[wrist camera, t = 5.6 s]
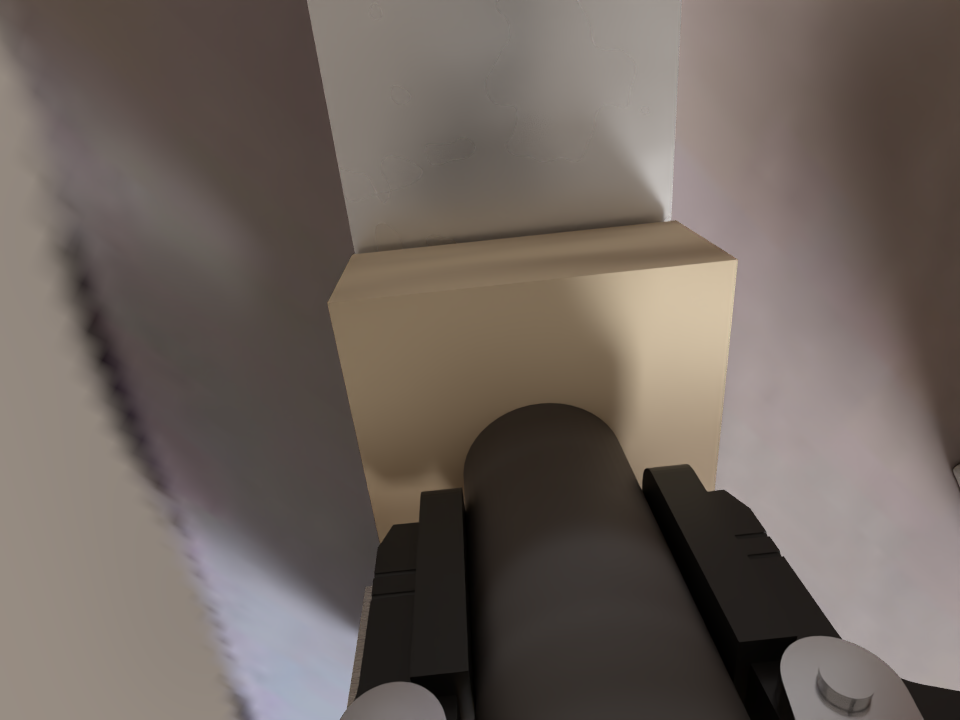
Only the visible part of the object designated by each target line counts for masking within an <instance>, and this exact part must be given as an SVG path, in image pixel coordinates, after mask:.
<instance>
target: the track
mask: <svg viewBox="0 0 960 720" xmlns="http://www.w3.org/2000/svg"><path fill="white" fill-rule="evenodd" d="M307 4H308V9H309V15H310V20H311V25H312V30H313V36H314V41H315V46H316V52H317V57H318V62H319V67H320V73H321V78H322V83H323V88H324V94H325V99H326V104H327V110H328V115H329V120H330V125H331V131H332V136H333V141H334V147H335V152H336V157H337V162H338V168H339V173H340V178H341V183H342V189H343V194H344V199H345V205H346V210H347V215H348V220H349V226H350V231H351V236H352V242H353V247H354V252H355V254H361V253H371V252H380V251H390V250H399V249H409V248H418V247H428V246H438V245H447V244H457V243H466V242H476V241H485V240H495V239H504V238H514V237H523V236H533V235H542V234H552V233H561V232H571V231H580V230H590V229H599V228H609V227H618V226H628V225H637V224H647V223H656V222H666V221H671V211H672V191H673V170H674V150H675V129H676V109H677V88H678V68H679V47H680V27H681V6H682V0H307ZM372 587H373V586H368V587H366V588H365V594H364V601H363V607H362V614H361V620H360V627H359V633H358V640H357V646H356V652H355V659H354V665H353V672H352V678H351V685H350V691H349V698H348V704H347V708H348V707H349V706H350V705H351V704H352V703H353V702H354V699H355V696H356V694H357V690H358V685H359V678H360V671H361V664H362V657H363V650H364V643H365V636H366V629H367V622H368V615H369V608H370V601H371V600H372V596H371V594H372Z"/></svg>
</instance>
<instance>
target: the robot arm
mask: <svg viewBox="0 0 960 720" xmlns="http://www.w3.org/2000/svg"><path fill="white" fill-rule="evenodd" d="M642 491H643V493H644V496H645V498H646V500H647V502H648V504H649V506H650V508H651V510H652V512H653V515H654V517H655V519H656V521H657V523H658V525H659V527H660V529H661V531H662V534H663V536H664V538H665V540H666V542H667V544H668V546H669V548H670V550H671V553H672V555H673V557H674V559H675V561H676V563H677V565H678V567H679V569H680V572H681V574H682V576H683V578H684V580H685V582H686V584H687V586H688V589H689V591H690V593H691V595H692V597H693V599H694V601H695V603H696V605H697V608H698V610H699V612H700V614H701V616H702V618H703V620H704V622H705V624H706V627H707V629H708V631H709V633H710V635H711V637H712V639H713V641H714V643H715V646H716V648H717V650H718V652H719V654H720V656H721V658H722V660H723V662H724V665H725V667H726V669H727V671H728V673H729V675H730V677H731V679H732V681H733V684H734V686H735V688H736V690H737V692H738V694H739V696H740V698H741V700H742V703H743V705H744V707H745V709H746V711H747V713H748V715H749V717H750V719H751V720H960V691H955V690H950V689H944V688H939V687H933V686H928V685H923V684H918V683H914V682H910V681H907V680H904V679H901V678H900V677H899V676H898V675H897V674H896V672H895V671H894V670H893V669H892V668H891V667H890V666H889V665H887V664H886V663H885V662H884V661H883V660H881V659H880V658H879V657H877V656H876V655H874V654H873V653H871V652H870V651H868V650H866V649H865V648H862V647H860V646H858V645H856V644H854V643H851V642H848V641H846V640H842V638H841V637H840V636H839V634H838V633H837V632H836V630H835V629H834V628H833V626H832V625H831V623H830V622H829V620H828V619H827V618H826V616H825V615H824V613H823V612H822V610H821V609H820V608H819V606H818V605H817V603H816V602H815V600H814V599H813V598H812V596H811V595H810V593H809V592H808V590H807V589H806V588H805V586H804V585H803V583H802V582H801V581H800V579H799V578H798V576H797V575H796V573H795V572H794V571H793V569H792V568H791V566H790V565H789V563H788V562H787V561H786V559H785V558H784V556H783V557H781V555H780V551H779V549H778V548H777V546H776V545H775V543H774V542H773V541H772V539H771V538H770V536H769V537H767V534H766V531H765V529H764V528H763V526H762V525H761V523H760V522H759V521H758V519H757V518H756V516H755V515H754V513H753V512H752V511H751V509H750V508H749V507H747V506H746V505H745V504H743V503H742V502H740V501H739V500H738V499H736V498H735V497H733V496H732V495H731V494H729V493H728V492H726V491H725V490H717V491H708V492H707V490H706V489H705V487H704V486H703V484H702V483H701V481H700V479H699V478H698V476H697V475H696V473H695V471H694V470H693V468H692V467H691V466H690V465H689V464H681V465H671V466H662V467H652V468H646V469H645V470H644V472H643V478H642ZM374 574H375V578H374V580H373V587H372V594H371V596H372V600H371V601H370V608H369V615H368V622H367V629H366V636H365V643H364V650H363V657H362V664H361V671H360V678H359V685H358V690H357V694H356V696H355V699H354V702H353V703H352V704H351V705H350V706H349V707H348V708H347V710H346V711H345V712H344V714H343V715H342V717H341V719H340V720H475V701H474V680H473V659H472V638H471V616H470V595H469V574H468V552H467V531H466V512H465V504H464V496H463V490H462V487H461V488H452V489H442V490H433V491H424V492H421V495H420V511H419V522H414V523H405V524H395V525H393V526H392V527H391V529H390V530H389V532H388V533H387V535H386V536H385V538H384V539H383V541H382V542H381V544H380V546H379V547H378V551H377V558H376V565H375V572H374Z"/></svg>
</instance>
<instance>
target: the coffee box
mask: <svg viewBox="0 0 960 720" xmlns="http://www.w3.org/2000/svg"><path fill="white" fill-rule="evenodd" d="M953 472H954V474H955V477H956V479H957V482H958V484H959V486H960V464H959V465H957V466H956V467H955V468H954V470H953Z"/></svg>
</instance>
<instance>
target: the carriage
mask: <svg viewBox="0 0 960 720" xmlns="http://www.w3.org/2000/svg"><path fill="white" fill-rule="evenodd" d="M737 263H738V259H736V258H735V257H733V256H731V255H730V254H728V253H727V252H725V251H723V250H722V249H720V248H719V247H717V246H716V245H714V244H712V243H711V242H709V241H708V240H706V239H705V238H703V237H701V236H700V235H698V234H697V233H695V232H693V231H692V230H690V229H689V228H687V227H686V226H684V225H682V224H681V223H679V222H678V221H676V220H675V221H666V222H656V223H647V224H637V225H628V226H618V227H609V228H599V229H590V230H580V231H571V232H561V233H552V234H542V235H533V236H523V237H514V238H504V239H495V240H485V241H476V242H466V243H457V244H447V245H438V246H428V247H418V248H409V249H399V250H390V251H380V252H371V253H361V254H352V256H351V258H350V260H349V262H348V264H347V266H346V268H345V270H344V272H343V273H342V275H341V277H340V279H339V281H338V283H337V285H336V287H335V289H334V291H333V293H332V295H331V297H330V299H329V301H328V303H327V304H328V309H329V313H330V318H331V322H332V327H333V331H334V336H335V341H336V345H337V350H338V354H339V359H340V363H341V368H342V373H343V377H344V382H345V386H346V391H347V396H348V400H349V405H350V409H351V414H352V418H353V423H354V428H355V432H356V437H357V441H358V446H359V450H360V455H361V460H362V464H363V469H364V473H365V478H366V482H367V487H368V492H369V496H370V501H371V505H372V510H373V515H374V519H375V524H376V528H377V533H378V537H379V542H380V544H381V542H382V541H383V539H384V538H385V536H386V535H387V533H388V532H389V530H390V529H391V527H392V526H393V525H395V524H405V523H414V522H419V511H420V495H421V492H424V491H433V490H442V489H452V488H461V487H462V490H463V496H464V504H465V512H466V531H467V552H468V574H469V595H470V616H471V638H472V659H473V680H474V701H475V720H751V719H750V717H749V715H748V713H747V711H746V709H745V707H744V705H743V703H742V700H741V698H740V696H739V694H738V692H737V690H736V688H735V686H734V684H733V681H732V679H731V677H730V675H729V673H728V671H727V669H726V667H725V665H724V662H723V660H722V658H721V656H720V654H719V652H718V650H717V648H716V646H715V643H714V641H713V639H712V637H711V635H710V633H709V631H708V629H707V627H706V624H705V622H704V620H703V618H702V616H701V614H700V612H699V610H698V608H697V605H696V603H695V601H694V599H693V597H692V595H691V593H690V591H689V589H688V586H687V584H686V582H685V580H684V578H683V576H682V574H681V572H680V569H679V567H678V565H677V563H676V561H675V559H674V557H673V555H672V553H671V550H670V548H669V546H668V544H667V542H666V540H665V538H664V536H663V534H662V531H661V529H660V527H659V525H658V523H657V521H656V519H655V517H654V515H653V512H652V510H651V508H650V506H649V504H648V502H647V500H646V498H645V496H644V493H643V491H642V478H643V472H644V470H645V469H646V468H652V467H662V466H671V465H681V464H689V465H690V466H691V467H692V468H693V470H694V471H695V473H696V475H697V476H698V478H699V479H700V481H701V483H702V484H703V486H704V487H705V489H706V490H707V492H708V491H715V481H716V471H717V461H718V451H719V441H720V431H721V422H722V412H723V402H724V392H725V382H726V372H727V362H728V352H729V342H730V333H731V323H732V313H733V303H734V293H735V283H736V273H737Z"/></svg>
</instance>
